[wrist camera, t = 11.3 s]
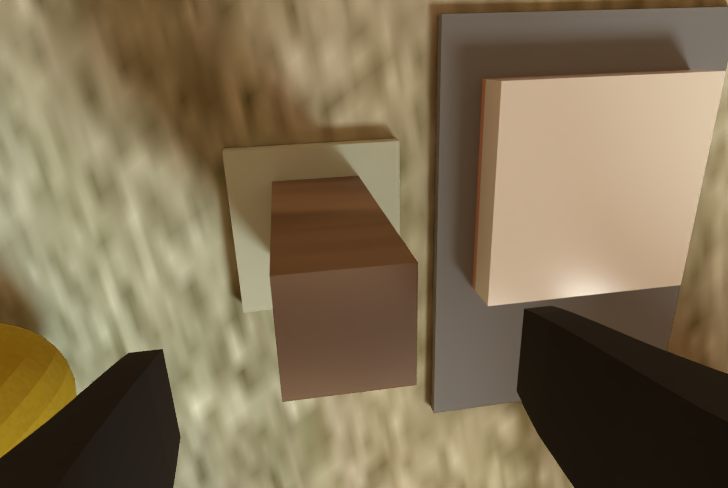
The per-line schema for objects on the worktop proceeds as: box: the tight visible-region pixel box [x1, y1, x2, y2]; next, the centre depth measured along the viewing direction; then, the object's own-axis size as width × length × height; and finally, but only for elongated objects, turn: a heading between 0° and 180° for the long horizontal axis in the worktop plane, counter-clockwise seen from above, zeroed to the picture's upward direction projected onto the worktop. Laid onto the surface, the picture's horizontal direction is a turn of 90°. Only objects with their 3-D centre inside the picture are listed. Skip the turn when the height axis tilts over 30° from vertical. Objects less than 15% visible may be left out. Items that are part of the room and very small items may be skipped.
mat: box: [431, 7, 728, 413], centre depth 20 cm, size 16×11×1 cm
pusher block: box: [269, 176, 418, 402], centre depth 14 cm, size 3×3×8 cm
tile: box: [472, 70, 726, 306], centre depth 19 cm, size 2×8×8 cm
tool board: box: [222, 138, 400, 312], centre depth 18 cm, size 6×6×1 cm
